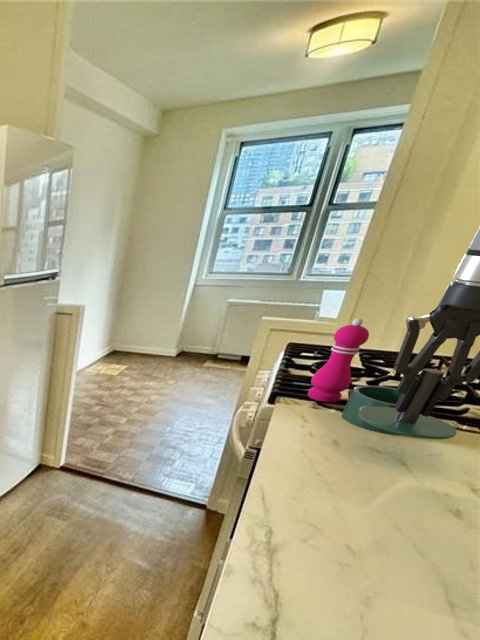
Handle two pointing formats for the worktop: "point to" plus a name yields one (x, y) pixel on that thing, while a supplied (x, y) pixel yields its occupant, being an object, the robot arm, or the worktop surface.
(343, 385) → the pepper mill
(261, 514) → the worktop surface
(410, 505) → the worktop surface
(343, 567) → the worktop surface
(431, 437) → the teal disc with rod
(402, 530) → the worktop surface
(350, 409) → the pot
